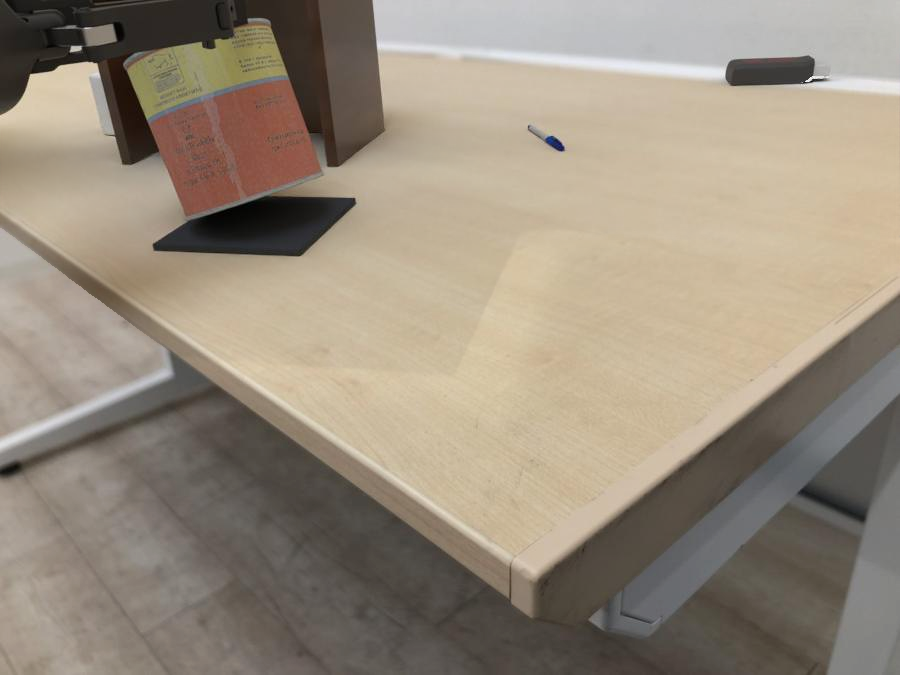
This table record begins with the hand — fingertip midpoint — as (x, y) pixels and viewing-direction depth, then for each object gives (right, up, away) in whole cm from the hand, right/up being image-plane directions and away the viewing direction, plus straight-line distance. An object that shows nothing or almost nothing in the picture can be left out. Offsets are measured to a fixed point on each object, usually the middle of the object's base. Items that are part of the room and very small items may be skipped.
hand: (153, 6), depth 57 cm
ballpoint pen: (+31, -3, +27) cm, 41 cm away
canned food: (+6, -13, +6) cm, 15 cm away
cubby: (0, -3, +31) cm, 31 cm away
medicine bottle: (-17, +2, +42) cm, 45 cm away
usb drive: (+64, +10, +47) cm, 80 cm away
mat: (+6, -15, +7) cm, 17 cm away
